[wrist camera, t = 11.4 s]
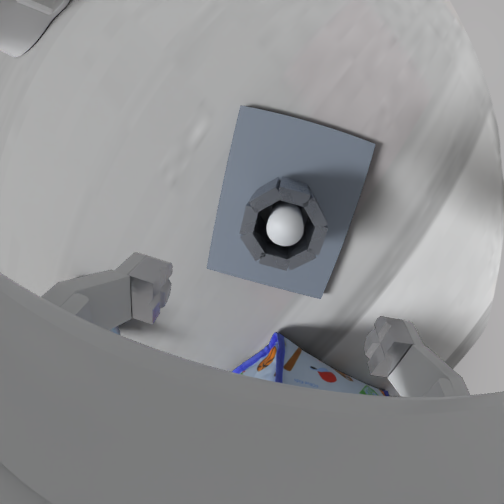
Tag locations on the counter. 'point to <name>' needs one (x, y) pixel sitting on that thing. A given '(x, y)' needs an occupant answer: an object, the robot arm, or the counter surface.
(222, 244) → the post block
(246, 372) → the lunch bag
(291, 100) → the counter surface
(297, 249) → the hub ring
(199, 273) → the counter surface
